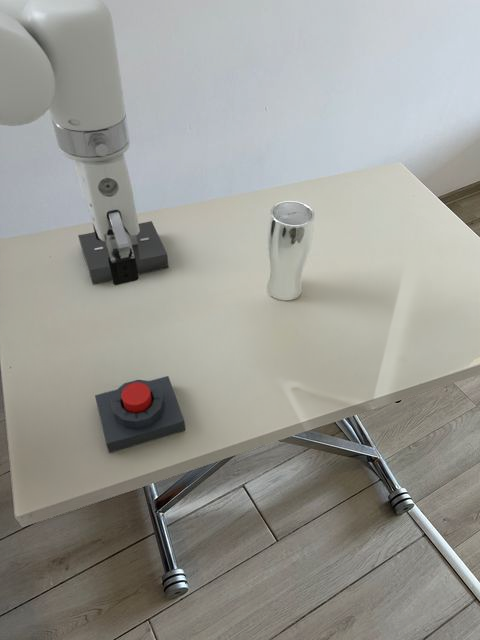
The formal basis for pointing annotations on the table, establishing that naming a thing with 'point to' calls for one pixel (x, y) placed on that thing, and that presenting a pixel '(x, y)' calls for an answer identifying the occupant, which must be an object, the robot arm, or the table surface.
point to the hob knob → (132, 239)
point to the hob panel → (146, 251)
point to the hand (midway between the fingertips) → (116, 258)
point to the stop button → (136, 397)
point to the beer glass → (288, 247)
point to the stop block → (139, 416)
